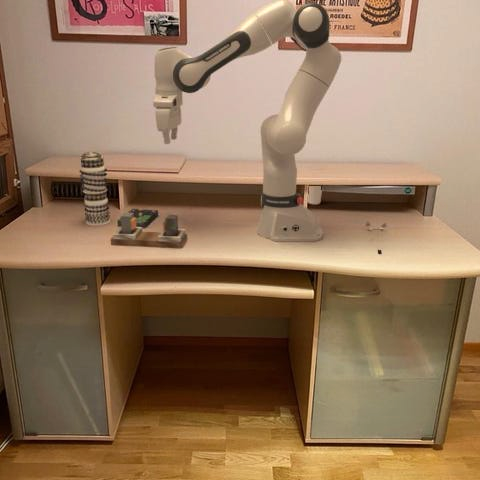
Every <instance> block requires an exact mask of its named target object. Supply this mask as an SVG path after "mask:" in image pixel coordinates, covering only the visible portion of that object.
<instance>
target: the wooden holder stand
mask: <svg viewBox="0 0 480 480" xmlns="http://www.w3.org/2000/svg"><path fill="white" fill-rule="evenodd" d="M178 217H179V216H178V214H167V216H166V217H164V219H165V220H164V221H163V222H162V225H163V229H162V231H161V232H159V231H143V228H142V227H136V228H135V232H134V233H133V234H122V229H121V227H119V228H118V229H117V230H116V231H115V232H114V233H113V235H112V236H111V238H110V245H111V246H112V245H113V246H128V245H135V246H134V247H147V246H148V247H149V248H150V247H152V248H166V247H168V248H169V247H170V248H172V249H183V247H184V246H185V244H186V242H187V240H188V233H186V229H183V228H179V219H178ZM183 245H184V246H183ZM168 248H167V249H168Z"/></svg>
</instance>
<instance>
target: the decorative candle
mask: <svg viewBox="0 0 480 480" xmlns="http://www.w3.org/2000/svg"><path fill="white" fill-rule="evenodd" d="M104 157H105V156H104V155H102V154H101V153H100V152H99V151H98V152H97V151H87V152H83V153H82V154H81V156H80V157H79V160H80V163H81V164H80V165H81V166H80V169H81V170H79V173H80V175H79V177H80V182H81V183H82V184H81V188H82V193H83V195H84V199H83V200H84V204H83V206H84V211H85V213H84V215H85V223H86V225H88V226H93V227H94V226H96V227H97V226H105V225H107V224H109V223H110V222H111V219H110V218H111V216H110V210H109V209H110V206H109V205H110V203H109V201H108V197H107V191H108V188H107V186H108V182H107V181H108V179H107V178H106V176H107V175H108V173H107V171H108V170H107V168H106V167H105V165H104V163H105V161H104Z"/></svg>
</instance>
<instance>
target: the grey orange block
mask: <svg viewBox="0 0 480 480" xmlns="http://www.w3.org/2000/svg"><path fill="white" fill-rule="evenodd" d="M120 218H121V229H122V234H133V233H134V232H135V228H136V227H137V225H136V218H134V213H128V212H124V213H123V214H121V215H120Z"/></svg>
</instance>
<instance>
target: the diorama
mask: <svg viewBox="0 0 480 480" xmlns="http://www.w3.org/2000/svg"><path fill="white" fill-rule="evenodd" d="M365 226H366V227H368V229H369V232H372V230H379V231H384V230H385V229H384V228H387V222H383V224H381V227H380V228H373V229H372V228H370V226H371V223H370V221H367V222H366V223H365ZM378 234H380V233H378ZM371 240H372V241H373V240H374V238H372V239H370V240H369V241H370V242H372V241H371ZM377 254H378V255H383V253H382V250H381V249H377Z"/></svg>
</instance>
